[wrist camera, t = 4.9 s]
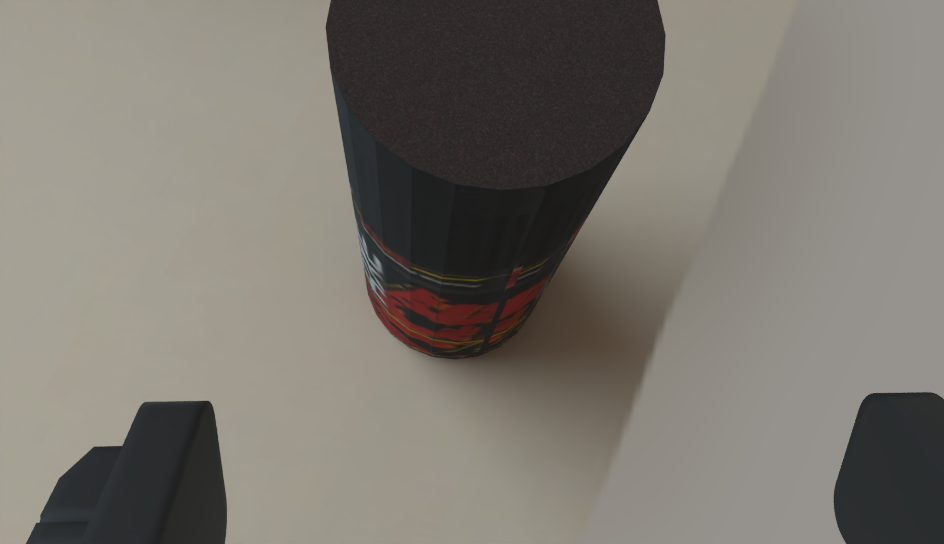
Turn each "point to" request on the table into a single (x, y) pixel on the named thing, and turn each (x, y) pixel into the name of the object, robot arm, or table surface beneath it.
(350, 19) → the deodorant
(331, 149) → the table surface
